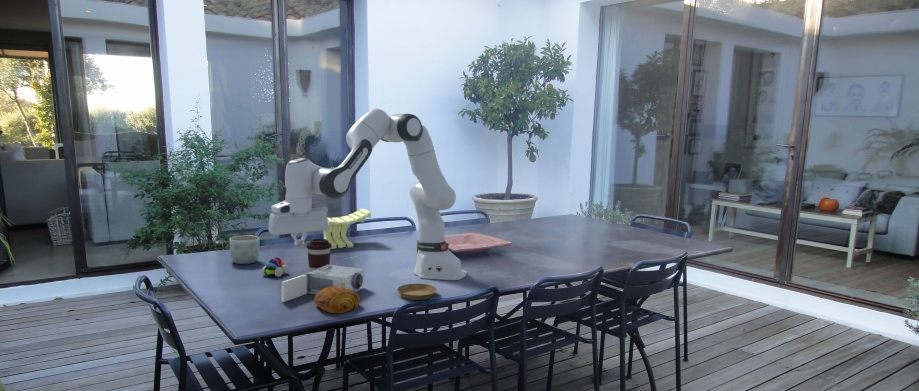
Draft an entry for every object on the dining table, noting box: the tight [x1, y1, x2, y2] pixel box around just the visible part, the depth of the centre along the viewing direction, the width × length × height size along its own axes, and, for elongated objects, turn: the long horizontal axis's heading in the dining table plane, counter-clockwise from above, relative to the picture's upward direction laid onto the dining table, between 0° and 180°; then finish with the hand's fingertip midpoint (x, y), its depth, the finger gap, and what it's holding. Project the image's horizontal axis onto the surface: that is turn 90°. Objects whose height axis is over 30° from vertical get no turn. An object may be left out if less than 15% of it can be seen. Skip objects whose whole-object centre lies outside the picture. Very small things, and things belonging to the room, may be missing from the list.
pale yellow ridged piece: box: [322, 208, 372, 250], centre depth 286 cm, size 30×16×18 cm, turn 117°
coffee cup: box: [306, 238, 332, 272], centre depth 225 cm, size 10×10×15 cm
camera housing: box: [307, 264, 365, 295], centre depth 206 cm, size 17×14×8 cm
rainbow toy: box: [261, 256, 289, 278], centre depth 226 cm, size 8×10×7 cm
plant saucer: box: [396, 283, 438, 301], centre depth 204 cm, size 15×15×3 cm
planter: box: [229, 235, 260, 265], centre depth 245 cm, size 12×12×11 cm
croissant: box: [313, 286, 361, 314], centre depth 188 cm, size 14×16×8 cm
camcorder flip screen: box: [280, 272, 310, 303], centre depth 196 cm, size 13×2×7 cm, turn 154°
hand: (299, 245), depth 192 cm, fingers closed
